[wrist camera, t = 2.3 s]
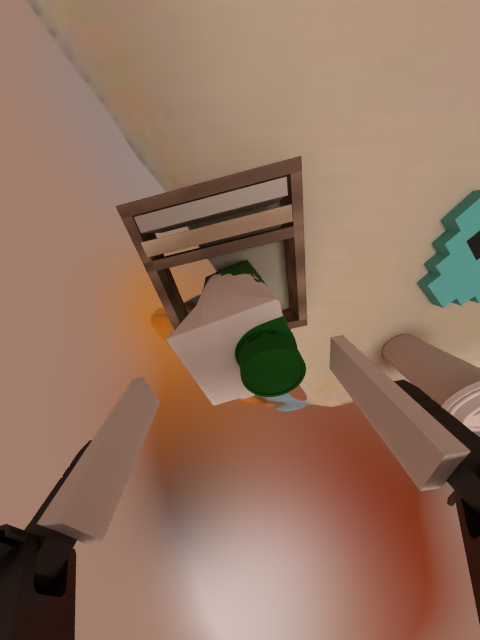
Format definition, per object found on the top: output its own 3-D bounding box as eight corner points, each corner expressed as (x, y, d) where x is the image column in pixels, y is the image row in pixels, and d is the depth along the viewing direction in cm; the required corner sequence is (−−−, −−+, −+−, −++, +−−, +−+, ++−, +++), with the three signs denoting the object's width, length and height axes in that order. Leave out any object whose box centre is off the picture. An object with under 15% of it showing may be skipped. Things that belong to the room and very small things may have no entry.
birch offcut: (165, 239, 24) (140, 242, 18) (274, 211, 23) (291, 204, 17) (169, 250, 25) (147, 257, 18) (275, 223, 24) (292, 221, 18)
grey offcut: (157, 220, 23) (133, 217, 17) (272, 190, 22) (286, 176, 17) (162, 232, 24) (140, 233, 18) (273, 204, 23) (287, 194, 17)
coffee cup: (424, 320, 33) (553, 380, 20) (419, 355, 37) (522, 424, 24) (374, 337, 34) (464, 404, 21) (374, 369, 39) (449, 440, 26)
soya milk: (267, 301, 30) (322, 407, 12) (219, 319, 31) (205, 439, 13) (251, 251, 26) (297, 298, 8) (197, 273, 27) (132, 357, 9)
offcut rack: (135, 210, 22) (115, 206, 18) (288, 169, 21) (301, 155, 17) (190, 336, 32) (185, 351, 28) (297, 313, 31) (307, 325, 27)
